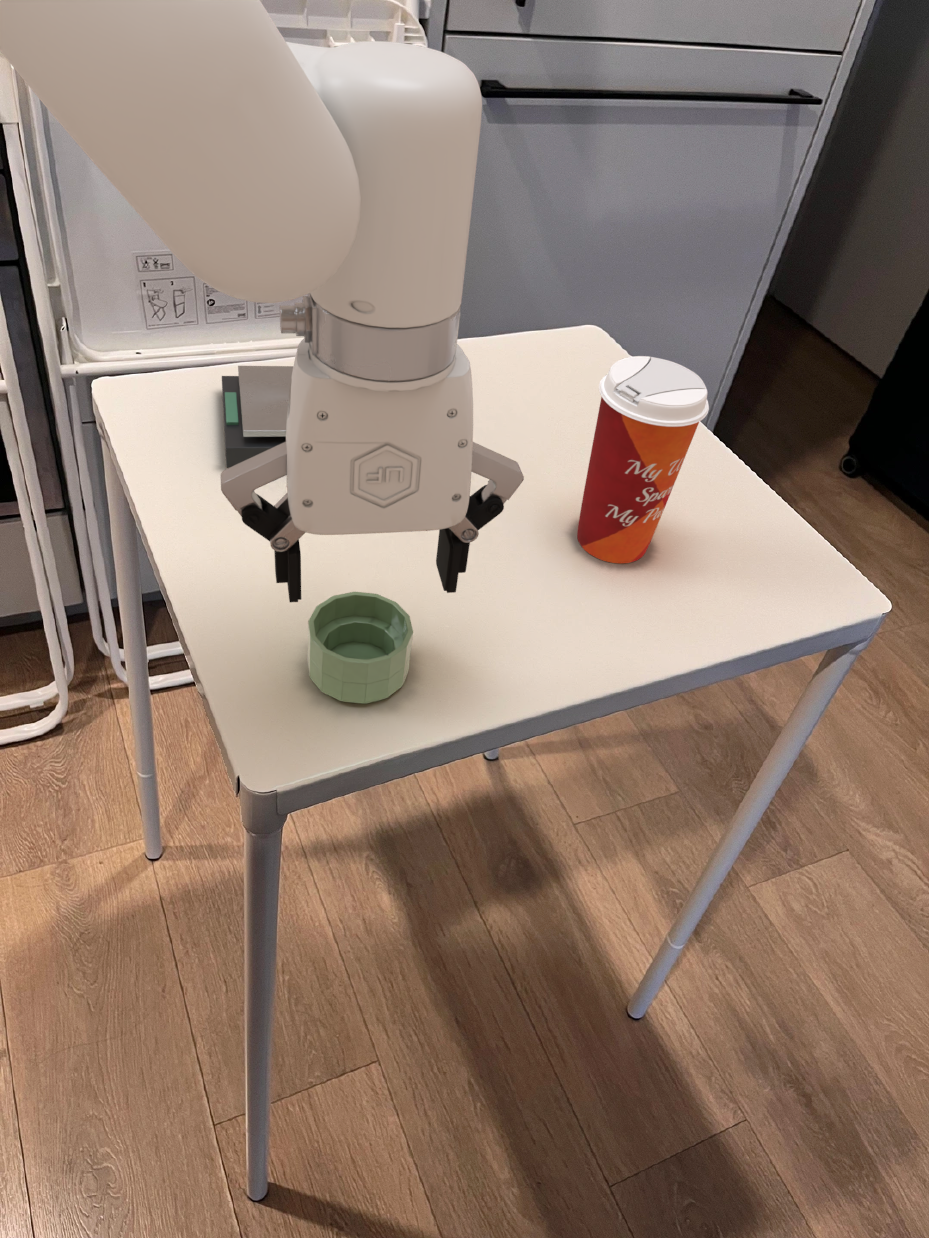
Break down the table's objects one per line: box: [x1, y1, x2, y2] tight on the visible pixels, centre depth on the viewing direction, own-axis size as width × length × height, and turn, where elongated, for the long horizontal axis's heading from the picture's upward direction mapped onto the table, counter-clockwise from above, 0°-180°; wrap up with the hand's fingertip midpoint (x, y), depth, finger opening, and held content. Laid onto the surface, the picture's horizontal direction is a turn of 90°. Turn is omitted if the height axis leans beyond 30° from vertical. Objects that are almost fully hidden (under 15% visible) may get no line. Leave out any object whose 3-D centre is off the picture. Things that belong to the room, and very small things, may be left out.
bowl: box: [307, 591, 414, 704], centre depth 63 cm, size 7×7×4 cm
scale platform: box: [237, 365, 294, 437], centre depth 84 cm, size 11×11×1 cm
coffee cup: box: [576, 355, 710, 564], centre depth 74 cm, size 8×8×15 cm
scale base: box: [221, 375, 286, 469], centre depth 85 cm, size 14×12×2 cm
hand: (370, 582), depth 60 cm, fingers open, 9 cm apart
